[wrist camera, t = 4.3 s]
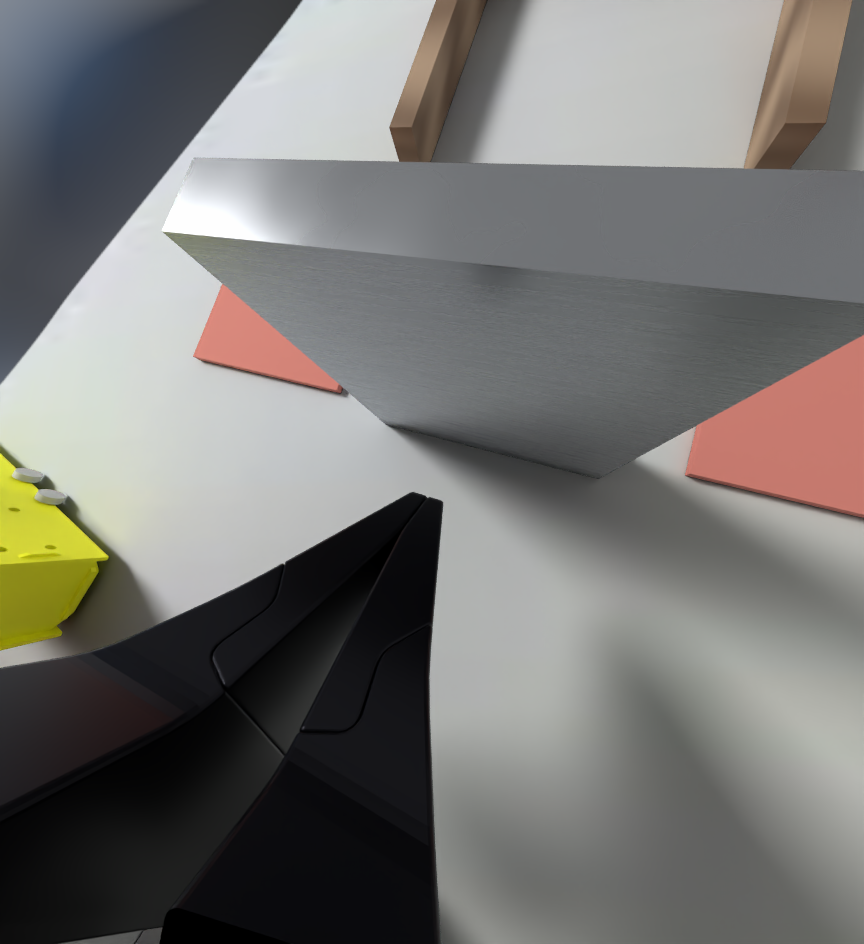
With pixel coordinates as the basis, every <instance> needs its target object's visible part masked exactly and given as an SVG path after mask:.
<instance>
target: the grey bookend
mask: <svg viewBox="0 0 864 944" xmlns="http://www.w3.org/2000/svg"><path fill="white" fill-rule="evenodd" d="M162 232H163V233H165V234H166V235H167V236H168V237H169V238H170V239H172V240H173V241H174V242H175V243H176V244H177V245H178V246H180V247H181V248H182V249H183V250H184V251H185V252H187V253H188V254H189V255H190V256H191V257H192V258H194V259H195V260H196V261H197V262H198V263H199V264H201V265H202V266H203V267H204V268H205V269H206V270H207V271H209V272H210V273H211V274H212V275H213V276H214V277H216V278H217V279H218V280H219V281H220V282H221V283H223V284H224V285H225V286H226V287H227V288H228V289H229V290H231V291H232V292H233V293H234V294H235V295H236V296H238V297H239V298H240V299H241V300H242V301H243V302H245V303H246V304H247V305H248V306H249V307H250V308H251V309H253V310H254V311H255V312H256V313H257V314H258V315H260V316H261V317H262V318H263V319H264V320H265V321H267V322H268V323H269V324H270V325H271V326H272V327H273V328H275V329H276V330H277V331H278V332H279V333H280V334H282V335H283V336H284V337H285V338H286V339H287V340H289V341H290V342H291V343H292V344H293V345H294V346H295V347H297V348H298V349H299V350H300V351H301V352H302V353H304V354H305V355H306V356H307V357H308V358H309V359H311V360H312V361H313V362H314V363H315V364H316V365H317V366H319V367H320V368H321V369H322V370H323V371H324V372H326V373H327V374H328V375H329V376H330V377H331V378H333V379H334V380H335V381H336V382H337V383H338V384H339V385H341V386H342V387H343V388H344V389H345V390H346V391H348V392H349V393H350V394H351V395H352V396H353V397H355V398H356V399H357V400H358V401H359V402H360V403H361V404H363V405H364V406H365V407H366V408H367V409H368V410H370V411H371V412H372V413H373V414H374V415H375V416H377V417H378V418H379V419H380V420H381V421H382V422H384V423H385V424H386V425H390V426H394V427H398V428H401V429H405V430H409V431H413V432H417V433H421V434H425V435H429V436H433V437H437V438H441V439H444V440H448V441H452V442H456V443H460V444H464V445H468V446H472V447H476V448H480V449H483V450H487V451H491V452H495V453H499V454H503V455H507V456H511V457H515V458H519V459H522V460H526V461H530V462H534V463H538V464H542V465H546V466H550V467H554V468H558V469H562V470H565V471H569V472H573V473H577V474H581V475H585V476H589V477H593V478H597V479H599V478H601V477H602V476H604V475H606V474H608V473H610V472H612V471H614V470H615V469H617V468H619V467H621V466H623V465H625V464H626V463H628V462H630V461H632V460H634V459H636V458H638V457H639V456H641V455H643V454H645V453H647V452H649V451H650V450H652V449H654V448H656V447H658V446H660V445H662V444H663V443H665V442H667V441H669V440H671V439H673V438H674V437H676V436H678V435H680V434H682V433H684V432H686V431H687V430H689V429H691V428H693V427H695V426H697V425H698V424H700V423H702V422H704V421H706V420H708V419H710V418H711V417H713V416H715V415H717V414H719V413H721V412H723V411H724V410H726V409H728V408H730V407H732V406H734V405H735V404H737V403H739V402H741V401H743V400H745V399H747V398H748V397H750V396H752V395H754V394H756V393H758V392H759V391H761V390H763V389H765V388H767V387H769V386H771V385H772V384H774V383H776V382H778V381H780V380H782V379H783V378H785V377H787V376H789V375H791V374H793V373H795V372H796V371H798V370H800V369H802V368H804V367H806V366H807V365H809V364H811V363H813V362H815V361H817V360H819V359H820V358H822V357H824V356H826V355H828V354H830V353H831V352H833V351H835V350H837V349H839V348H841V347H843V346H844V345H846V344H848V343H850V342H852V341H854V340H855V339H857V338H859V337H861V336H863V335H864V171H842V170H791V169H741V168H690V167H640V166H589V165H538V164H488V163H437V162H386V161H336V160H285V159H235V158H193V160H192V162H191V165H190V167H189V169H188V172H187V174H186V176H185V179H184V181H183V183H182V186H181V188H180V190H179V192H178V195H177V197H176V199H175V202H174V204H173V206H172V209H171V211H170V213H169V215H168V218H167V220H166V222H165V225H164V227H163V229H162Z"/></svg>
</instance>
